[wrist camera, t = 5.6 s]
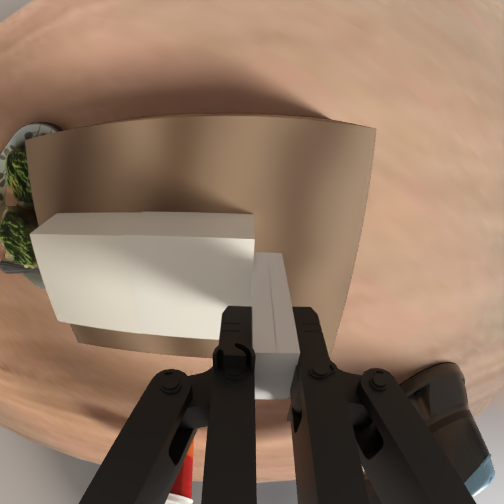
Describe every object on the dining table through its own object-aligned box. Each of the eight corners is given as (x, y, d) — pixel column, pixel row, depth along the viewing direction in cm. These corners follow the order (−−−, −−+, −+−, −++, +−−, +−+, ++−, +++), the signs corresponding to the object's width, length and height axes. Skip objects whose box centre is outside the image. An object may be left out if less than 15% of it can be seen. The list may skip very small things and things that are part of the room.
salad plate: (45, 310, 31) (29, 333, 27) (-27, 202, 23) (-50, 216, 19) (147, 249, 27) (131, 275, 23) (54, 96, 19) (23, 99, 15)
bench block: (331, 119, 21) (376, 128, 13) (310, 289, 28) (329, 357, 20) (91, 124, 21) (25, 140, 13) (114, 282, 28) (78, 342, 20)
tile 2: (142, 212, 15) (122, 235, 12) (154, 301, 18) (141, 333, 15) (57, 213, 15) (29, 234, 12) (77, 294, 18) (58, 321, 15)
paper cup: (151, 435, 44) (138, 498, 32) (171, 425, 42) (159, 496, 29) (185, 449, 47) (178, 509, 35) (208, 440, 44) (202, 508, 32)
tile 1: (253, 214, 15) (254, 239, 12) (249, 306, 18) (248, 341, 15) (142, 211, 15) (121, 234, 12) (154, 301, 18) (141, 333, 15)
